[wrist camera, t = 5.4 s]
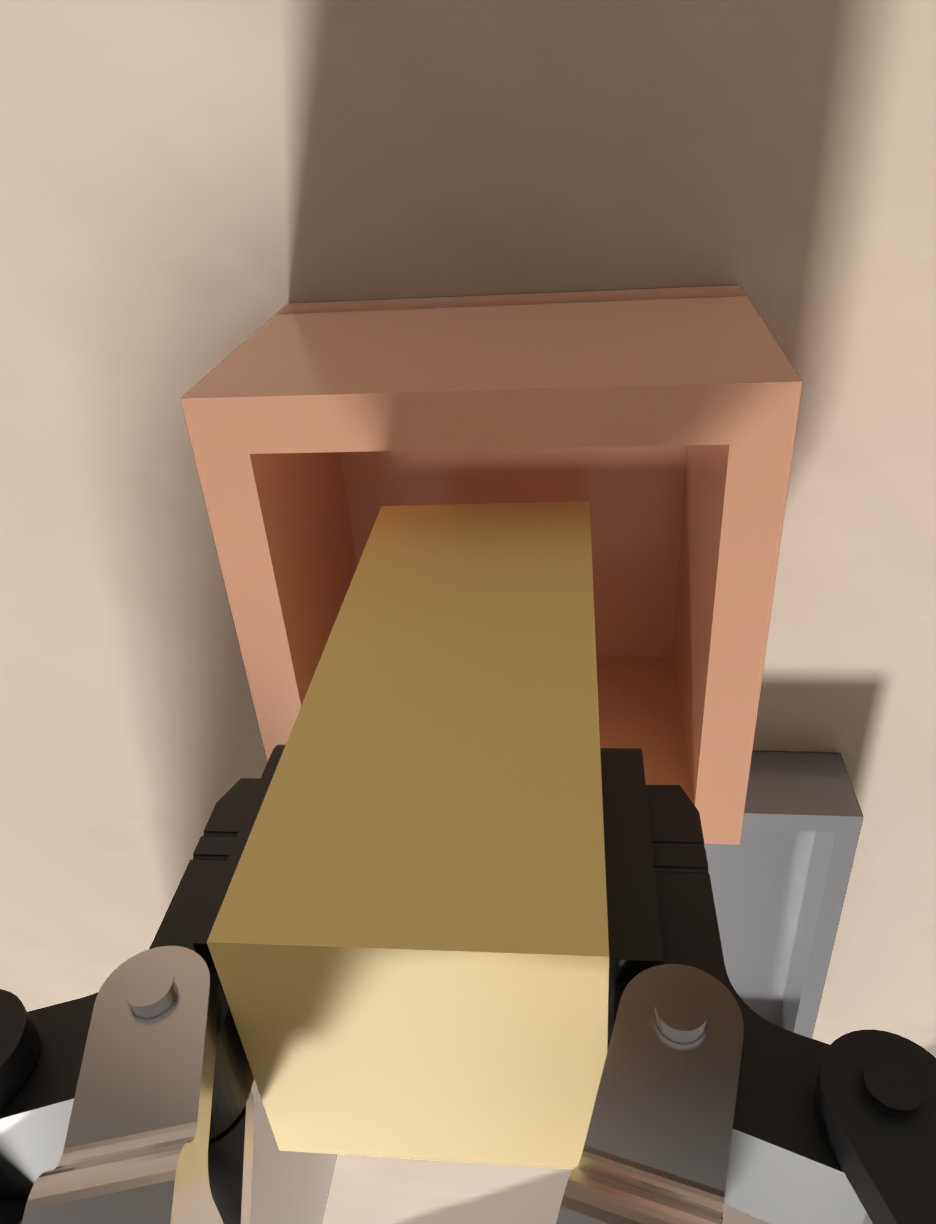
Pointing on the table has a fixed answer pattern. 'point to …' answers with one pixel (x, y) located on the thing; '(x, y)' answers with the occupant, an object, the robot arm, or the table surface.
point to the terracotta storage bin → (522, 488)
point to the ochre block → (435, 856)
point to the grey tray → (786, 883)
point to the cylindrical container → (286, 1178)
